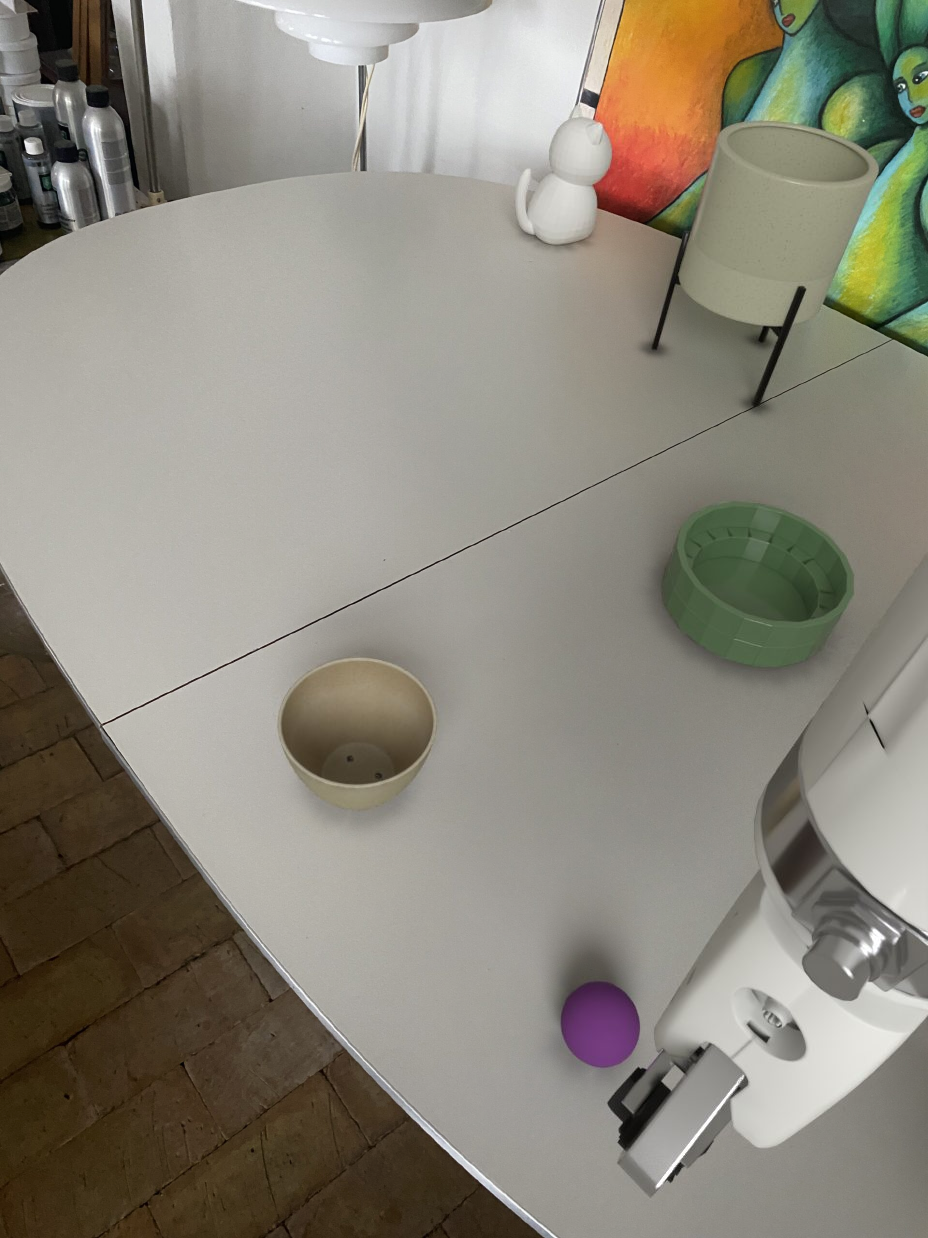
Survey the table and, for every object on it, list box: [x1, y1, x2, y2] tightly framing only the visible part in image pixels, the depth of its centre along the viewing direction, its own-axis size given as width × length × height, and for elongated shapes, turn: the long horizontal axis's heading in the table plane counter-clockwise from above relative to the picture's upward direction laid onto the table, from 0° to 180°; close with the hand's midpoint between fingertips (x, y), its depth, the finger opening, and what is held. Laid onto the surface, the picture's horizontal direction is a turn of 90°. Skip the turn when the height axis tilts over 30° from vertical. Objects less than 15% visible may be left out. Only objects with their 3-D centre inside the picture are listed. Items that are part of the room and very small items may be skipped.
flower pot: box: [277, 656, 438, 811], centre depth 58 cm, size 10×10×7 cm
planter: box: [651, 120, 880, 408], centre depth 91 cm, size 15×16×23 cm
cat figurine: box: [514, 104, 613, 246], centre depth 112 cm, size 9×12×15 cm
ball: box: [560, 980, 641, 1069], centre depth 49 cm, size 4×4×4 cm
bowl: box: [661, 501, 855, 668], centre depth 72 cm, size 14×14×6 cm
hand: (713, 1035), depth 35 cm, fingers open, 9 cm apart
